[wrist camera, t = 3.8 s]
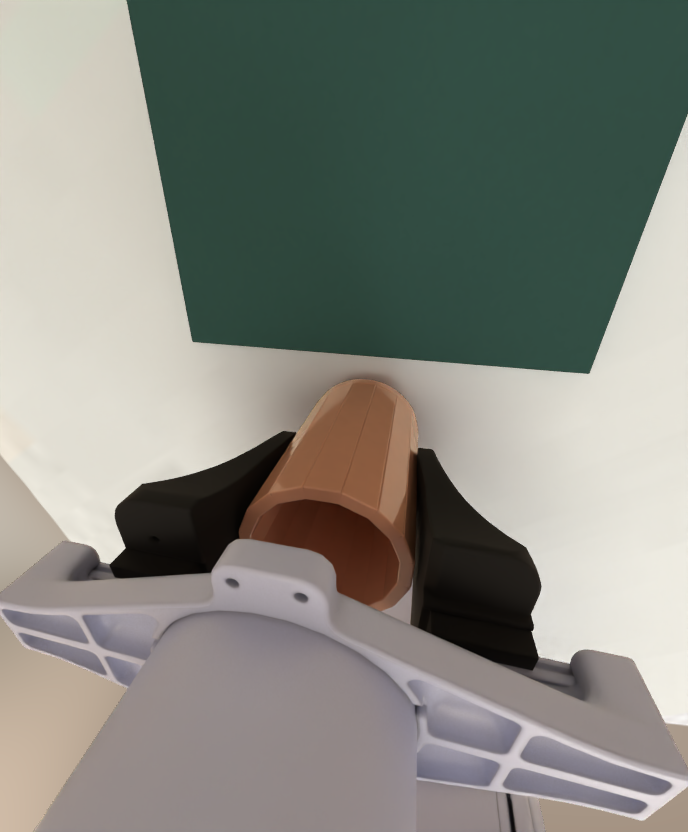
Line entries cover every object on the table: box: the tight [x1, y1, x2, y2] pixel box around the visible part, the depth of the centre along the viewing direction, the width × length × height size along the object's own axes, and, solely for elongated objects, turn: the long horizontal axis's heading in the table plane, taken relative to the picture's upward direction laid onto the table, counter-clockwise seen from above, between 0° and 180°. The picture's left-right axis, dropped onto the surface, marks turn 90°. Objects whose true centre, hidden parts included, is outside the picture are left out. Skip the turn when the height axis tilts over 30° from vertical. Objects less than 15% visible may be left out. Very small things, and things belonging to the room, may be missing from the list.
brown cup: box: [239, 379, 418, 611], centre depth 14 cm, size 6×6×8 cm
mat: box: [127, 0, 688, 374], centre depth 13 cm, size 20×20×1 cm
